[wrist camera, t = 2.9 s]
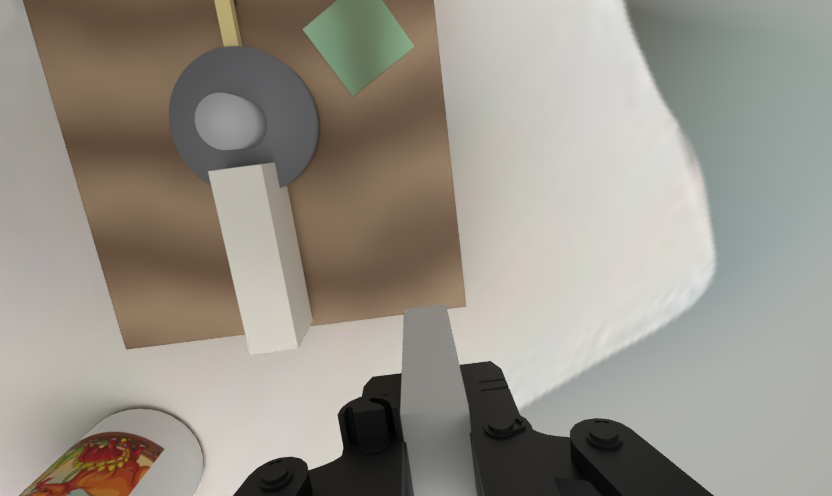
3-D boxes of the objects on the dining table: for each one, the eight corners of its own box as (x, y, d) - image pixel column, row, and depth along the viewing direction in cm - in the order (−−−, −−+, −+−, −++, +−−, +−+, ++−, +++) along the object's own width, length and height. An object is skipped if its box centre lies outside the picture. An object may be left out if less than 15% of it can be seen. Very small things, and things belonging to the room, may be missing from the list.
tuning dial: (135, -75, 21) (78, -120, 18) (283, -95, 21) (258, -145, 18) (231, 331, 26) (202, 362, 22) (352, 315, 26) (344, 344, 22)
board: (33, -58, 24) (-2, -77, 22) (418, -110, 23) (419, -134, 21) (145, 335, 29) (124, 350, 27) (462, 295, 28) (466, 307, 26)
